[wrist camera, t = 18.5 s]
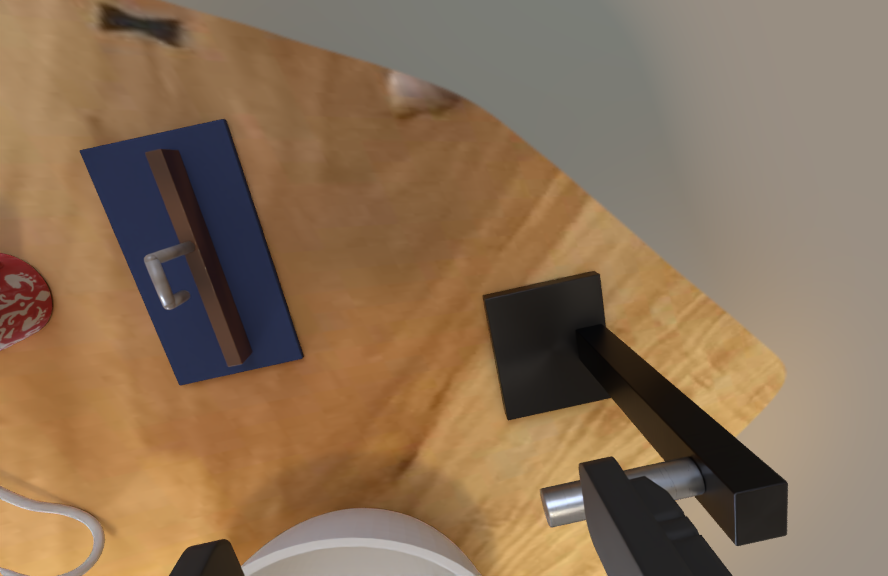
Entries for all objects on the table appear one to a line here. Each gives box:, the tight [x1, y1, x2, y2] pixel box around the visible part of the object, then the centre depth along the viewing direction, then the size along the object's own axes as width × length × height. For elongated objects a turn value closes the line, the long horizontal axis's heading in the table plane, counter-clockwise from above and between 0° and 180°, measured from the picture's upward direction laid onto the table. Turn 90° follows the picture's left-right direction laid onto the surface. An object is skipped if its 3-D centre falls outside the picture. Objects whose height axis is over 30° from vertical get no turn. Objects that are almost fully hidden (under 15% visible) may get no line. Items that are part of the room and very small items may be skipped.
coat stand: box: [483, 271, 788, 546], centre depth 29 cm, size 12×10×21 cm
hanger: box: [144, 149, 252, 367], centre depth 31 cm, size 17×1×8 cm, turn 12°
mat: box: [80, 119, 304, 385], centre depth 35 cm, size 20×11×1 cm, turn 12°
